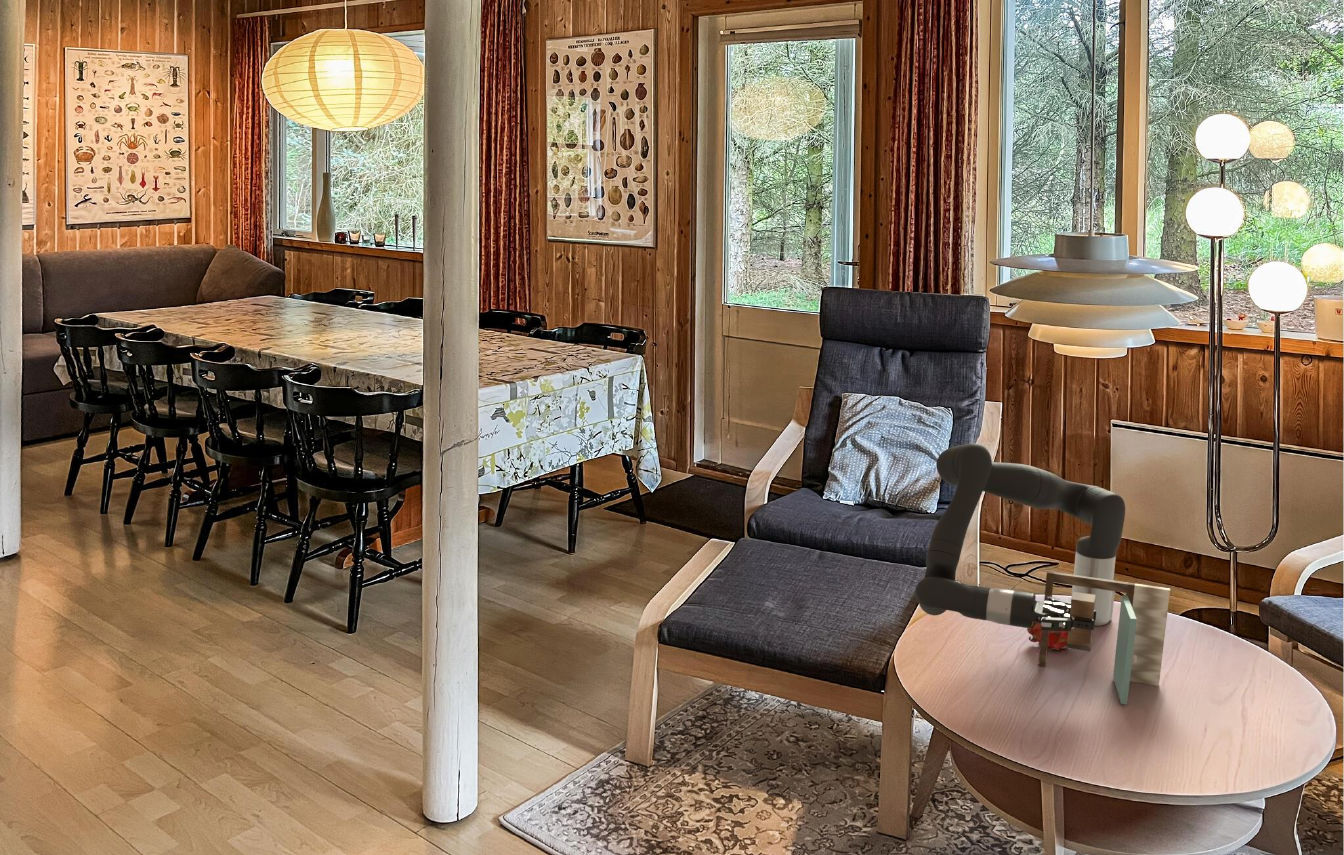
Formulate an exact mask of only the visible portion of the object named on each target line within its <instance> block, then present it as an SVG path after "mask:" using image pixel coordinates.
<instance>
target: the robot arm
mask: <svg viewBox="0 0 1344 855" xmlns="http://www.w3.org/2000/svg"><path fill="white" fill-rule="evenodd" d="M990 453H991V452H990V451H989V450H988V449H987V448H986V447H985V446H984V445H982V444H980V443H976V442H975V443H966V444H960V445H955V446H952V447H949V448H947V449H945V450H943V451H942V452H941V453H940V454H939V455H938V456H937V459H936V464H935V466H936V467H935V468H936V471H937V473H938V475H939V477H940V478H941V479H942V480H943V482H945V483H946V484H948V485H950V486H951V487H952V486H953V487H955V488H956V489H955V493H954V495H953V497H952V499H951V501H950V503H949V504H948V506H947V508H945V511H944V512H943V514H942V515H941V516H940V518H939V520H938V521H937V523H936V525H935V527H934V529H933V531H932V534H931V538H930V541H929V544H928V548H927V553H926V557H925V564H926V565H925V573H924V578H922V579H920V580H919V581H918V583H917V585H916V586H915V590H914V594H915V598H916V600H917V603H918V605H919V607H920V609H921V610H922V611H923V612H924V613H926V614H928V615H930V616H940V615H943V614H944V613H945V612H946V611H949V612H954V613H955V612H956V613H958V614H960V615H961V616H964V617H965V618H969V619H975V620H981V621H987V622H991V623H995V624H998V625H999V624H1000V625H1003V626H1004V625H1005V626H1011V627H1018V628H1024V629H1027V628H1031V627H1032V625H1033V622H1037V623H1039V624H1041V630H1049V631H1071V629H1074V628H1081V629H1088V630H1092V631H1094V629H1095V626H1096V627H1097V626H1105V625H1107V624H1108V623H1109V622H1110V621H1112V620H1113V612H1114V604H1115V603H1114V602H1115V594H1116V591H1109V590H1103V589H1096V588H1089V587H1082V586H1075V585H1072V588H1071V595H1072V594H1073V592H1079V593H1086V594H1093V595H1095V605H1094V615H1093V619H1089V618H1082V617H1075V616H1072V615H1070V607H1071V600H1070V601H1069V600H1065V599H1061V598H1057V597H1053V596H1052V597H1048V598H1047V601H1044V600H1043V601H1042V600H1041V601H1040V600H1038V601H1037V600H1036V598H1037V596H1036V594H1035V593H1034V592H1028V591H1022V590H1014V589H1009V588H995V587H994V588H993V587H988V586H987V587H986V586H985V587H984V586H978V585H970V584H966V583H963V582H960V581H957V580H956V572H957V569H958V565H959V562H960V558H961V554H962V551H963V547H964V541H965V538H966V535H967V531H968V528H969V526H970V523H971V520H972V518H973V515H974V513H975V511H976V508H977V506H978V504H979V501H980V498H981V497H982V494H983V492H985V493H987V494H990V495H993V496H997V497H999V498H1002V499H1006V500H1008V501H1011V502H1015V503H1018V504H1020V505H1023V506H1027V507H1031V508H1033V509H1039V510H1053V509H1054V510H1058V511H1061V512H1064V513H1065V514H1069V515H1070V516H1073V517H1075V518H1076V519H1078V520H1080V521H1082V522H1084V523H1086V524H1089V525H1091V529H1090V534H1089V535H1088V536H1081V537H1080V538H1078V539H1077V541H1076V546H1075V547H1076V548H1075V556H1074V567H1073V568H1074V570H1073V575H1079V576H1086V577H1093V578H1100V579H1107V580H1114V575H1115V567H1116V566H1115V565H1116V558H1117V550H1118V549H1119V546H1120V544H1121V541H1122V536H1123V530H1124V526H1125V525H1124V523H1125V518H1126V504H1125V501H1124V499H1123V497H1122V496H1121V495H1119V494H1117V493H1116V492H1114V491H1110V490H1108V489H1105V488H1102V487H1100V486H1097V485H1089V484H1085V483H1079V482H1073V481H1069V480H1065V479H1064V478H1062V477H1060V476H1058V475H1056V474H1054V473H1052V472H1050V471H1048V470H1045V469H1042V468H1039V467H1035V466H1033V465H1028V464H1022V463H1013V462H997V461H996V462H995V461H992V460H993V459H992V456H991V454H990ZM1071 598H1072V596H1071Z"/></svg>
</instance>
